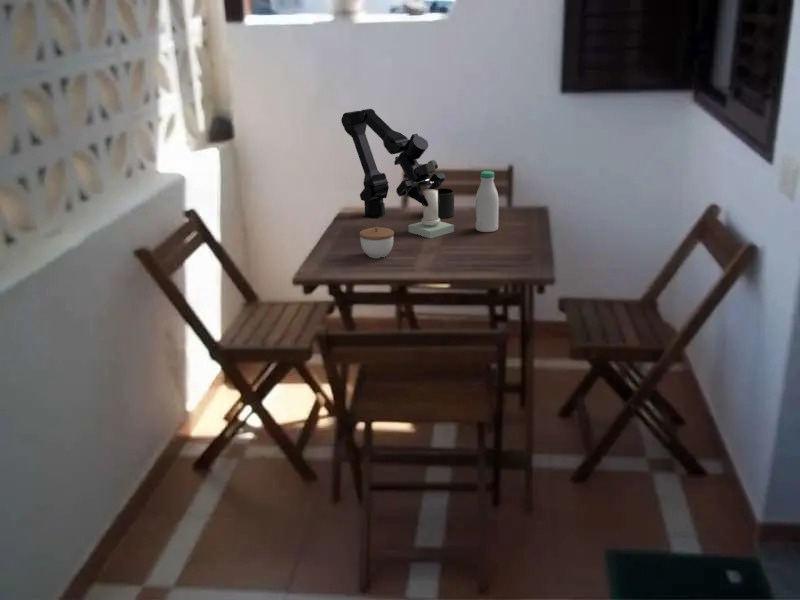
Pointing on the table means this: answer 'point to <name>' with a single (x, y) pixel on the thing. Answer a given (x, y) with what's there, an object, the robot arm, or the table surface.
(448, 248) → the table surface
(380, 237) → the lidded jar
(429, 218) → the white rounded piece
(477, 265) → the table surface
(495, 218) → the milk bottle
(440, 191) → the mug
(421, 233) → the block
